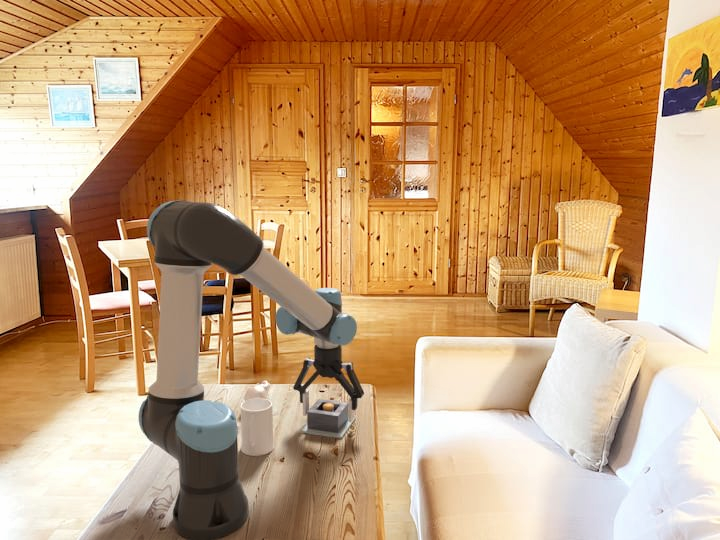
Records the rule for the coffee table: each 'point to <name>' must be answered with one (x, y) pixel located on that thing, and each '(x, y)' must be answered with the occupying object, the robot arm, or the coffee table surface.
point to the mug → (257, 427)
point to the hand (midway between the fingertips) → (328, 416)
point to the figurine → (258, 391)
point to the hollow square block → (327, 416)
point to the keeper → (329, 408)
